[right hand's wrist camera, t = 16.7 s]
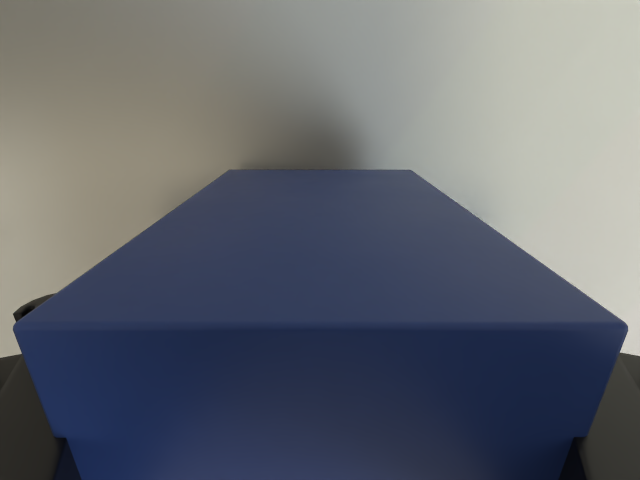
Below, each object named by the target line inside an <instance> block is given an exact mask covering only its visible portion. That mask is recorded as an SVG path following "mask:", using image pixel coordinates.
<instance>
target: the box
mask: <svg viewBox="0 0 640 480" xmlns="http://www.w3.org/2000/svg"><path fill="white" fill-rule="evenodd" d="M13 331H14V334H15V336H16V339H17V342H18V344H19V347H20V350H21V352H22V355H23V357H24V360H25V363H26V365H27V368H28V371H29V373H30V376H31V378H32V381H33V384H34V386H35V389H36V391H37V394H38V397H39V399H40V402H41V405H42V407H43V410H44V412H45V415H46V418H47V420H48V423H49V426H50V428H51V431H52V433H53V436H54V437H56V438H66V439H67V441H68V444H69V447H70V450H71V452H72V455H73V458H74V460H75V463H76V466H77V469H78V471H79V474H80V477H81V480H558V479H559V476H560V474H561V471H562V468H563V466H564V463H565V460H566V457H567V455H568V452H569V449H570V446H571V444H572V441H573V438H574V437H585V436H587V435H588V433H589V430H590V428H591V425H592V423H593V420H594V418H595V415H596V412H597V410H598V407H599V405H600V402H601V399H602V397H603V394H604V392H605V389H606V386H607V384H608V381H609V379H610V376H611V373H612V371H613V368H614V366H615V363H616V360H617V358H618V355H619V353H620V350H621V347H622V345H623V342H624V340H625V337H626V334H627V332H628V326H627V324H626V323H625V322H624V321H622V320H621V319H619V318H618V317H617V316H615V315H614V314H612V313H611V312H610V311H608V310H607V309H605V308H604V307H603V306H601V305H600V304H598V303H597V302H596V301H594V300H593V299H591V298H590V297H588V296H587V295H586V294H584V293H583V292H581V291H580V290H579V289H577V288H576V287H574V286H573V285H572V284H570V283H569V282H567V281H566V280H565V279H563V278H562V277H560V276H559V275H558V274H556V273H555V272H553V271H552V270H551V269H549V268H548V267H546V266H545V265H544V264H542V263H541V262H539V261H538V260H537V259H535V258H534V257H532V256H531V255H529V254H528V253H527V252H525V251H524V250H522V249H521V248H520V247H518V246H517V245H515V244H514V243H513V242H511V241H510V240H508V239H507V238H506V237H504V236H503V235H501V234H500V233H499V232H497V231H496V230H494V229H493V228H492V227H490V226H489V225H487V224H486V223H485V222H483V221H482V220H480V219H479V218H478V217H476V216H475V215H473V214H472V213H470V212H469V211H468V210H466V209H465V208H463V207H462V206H461V205H459V204H458V203H456V202H455V201H454V200H452V199H451V198H449V197H448V196H447V195H445V194H444V193H442V192H441V191H440V190H438V189H437V188H435V187H434V186H433V185H431V184H430V183H428V182H427V181H426V180H424V179H423V178H421V177H420V176H419V175H417V174H416V173H414V172H413V171H411V170H229V171H227V172H226V173H224V174H223V175H222V176H220V177H219V178H217V179H216V180H215V181H213V182H212V183H210V184H209V185H208V186H206V187H205V188H203V189H202V190H201V191H199V192H198V193H196V194H195V195H194V196H192V197H191V198H189V199H188V200H187V201H185V202H184V203H182V204H181V205H180V206H178V207H177V208H175V209H174V210H173V211H171V212H170V213H168V214H167V215H166V216H164V217H163V218H161V219H160V220H159V221H157V222H156V223H154V224H153V225H152V226H150V227H149V228H147V229H146V230H145V231H143V232H142V233H140V234H139V235H138V236H136V237H135V238H133V239H132V240H131V241H129V242H128V243H126V244H125V245H124V246H122V247H121V248H119V249H118V250H117V251H115V252H114V253H112V254H111V255H110V256H108V257H107V258H105V259H104V260H103V261H101V262H100V263H98V264H97V265H96V266H94V267H93V268H91V269H90V270H89V271H87V272H86V273H84V274H83V275H82V276H80V277H79V278H77V279H76V280H75V281H73V282H72V283H70V284H69V285H68V286H66V287H65V288H63V289H62V290H61V291H59V292H58V293H56V294H55V295H54V296H52V297H51V298H49V299H48V300H47V301H45V302H44V303H42V304H41V305H40V306H38V307H37V308H35V309H34V310H33V311H31V312H30V313H28V314H27V315H26V316H24V317H23V318H21V319H20V320H18V321H17V322H16V323H15V324H14V326H13Z"/></svg>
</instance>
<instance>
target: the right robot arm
mask: <svg viewBox="0 0 640 480" xmlns="http://www.w3.org/2000/svg"><path fill="white" fill-rule="evenodd" d="M55 294H56V293H55ZM55 294H50V295H46V296H44V297H41V298H38V299H35V300H33V301H31V302H29V303H27V304H25V305H23V306H21V307H20V308H19V309H18V310H17V311H16V312H14V313H13V315H14V318H15V320H16V322H17V321H18V320H20V319H21V318H23V317H24V316H26V315H27V314H28V313H30V312H31V311H33V310H34V309H35V308H37V307H38V306H40V305H41V304H42V303H44V302H45V301H47V300H48V299H49V298H51V297H52V296H54V295H55ZM0 480H81V477H80V474H79V471H78V469H77V466H76V463H75V460H74V458H73V455H72V452H71V450H70V447H69V444H68V441H67V439H66V438H56V437H54V436H53V433H52V431H51V428H50V426H49V423H48V420H47V418H46V415H45V412H44V410H43V407H42V405H41V402H40V399H39V397H38V394H37V391H36V389H35V386H34V384H33V381H32V378H31V376H30V373H29V371H28V368H27V365H26V363H25V360H24V357H23V355H22V354H19V355H14V356H8V357H3V358H0ZM558 480H640V356H635V355H630V354H625V353H619V355H618V358H617V360H616V363H615V366H614V368H613V371H612V373H611V376H610V379H609V381H608V384H607V386H606V389H605V392H604V394H603V397H602V399H601V402H600V405H599V407H598V410H597V412H596V415H595V418H594V420H593V423H592V425H591V428H590V430H589V433H588V435H587V436H585V437H574V438H573V441H572V444H571V446H570V449H569V452H568V455H567V457H566V460H565V463H564V466H563V468H562V471H561V474H560V476H559V479H558Z"/></svg>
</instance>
